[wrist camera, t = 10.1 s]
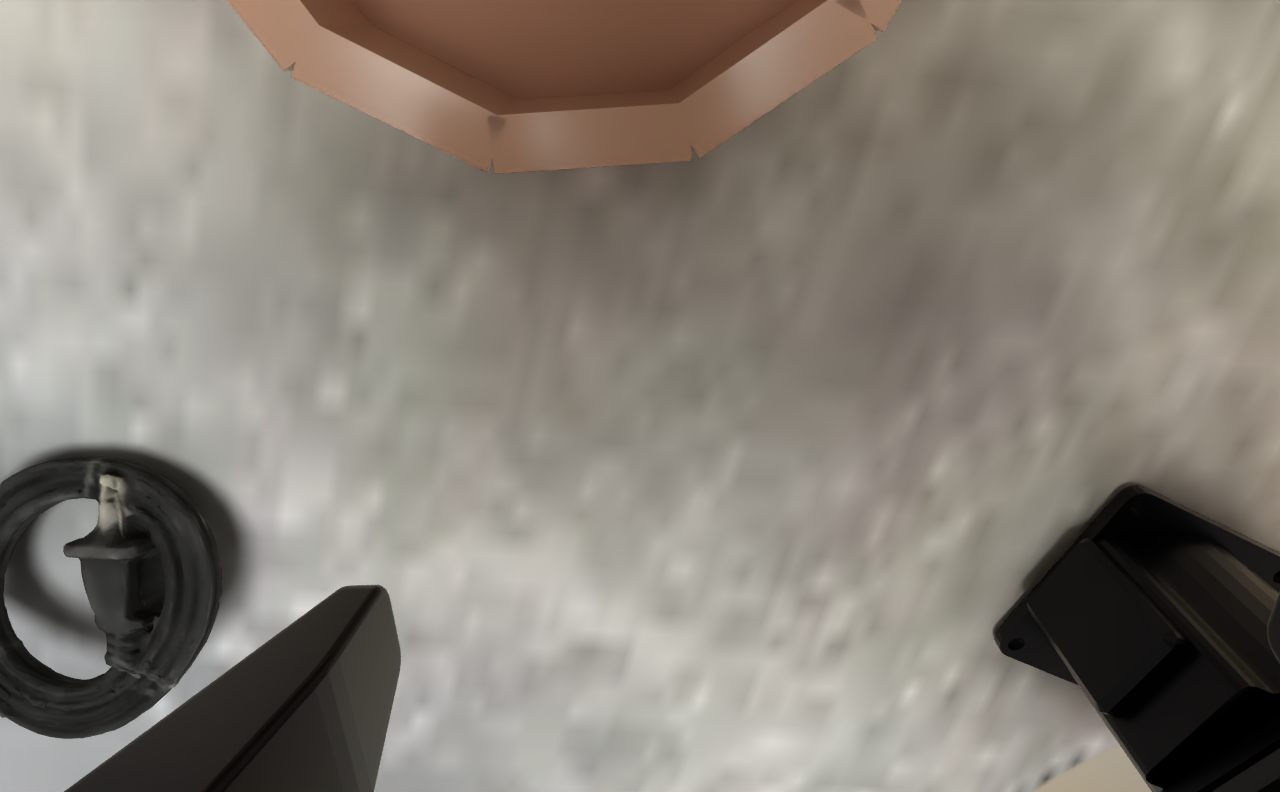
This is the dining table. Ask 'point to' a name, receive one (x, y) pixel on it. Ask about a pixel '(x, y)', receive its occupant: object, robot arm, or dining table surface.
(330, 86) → the bowl
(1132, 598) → the robot arm
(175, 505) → the milk frother
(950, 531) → the dining table surface
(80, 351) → the dining table surface
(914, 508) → the dining table surface
